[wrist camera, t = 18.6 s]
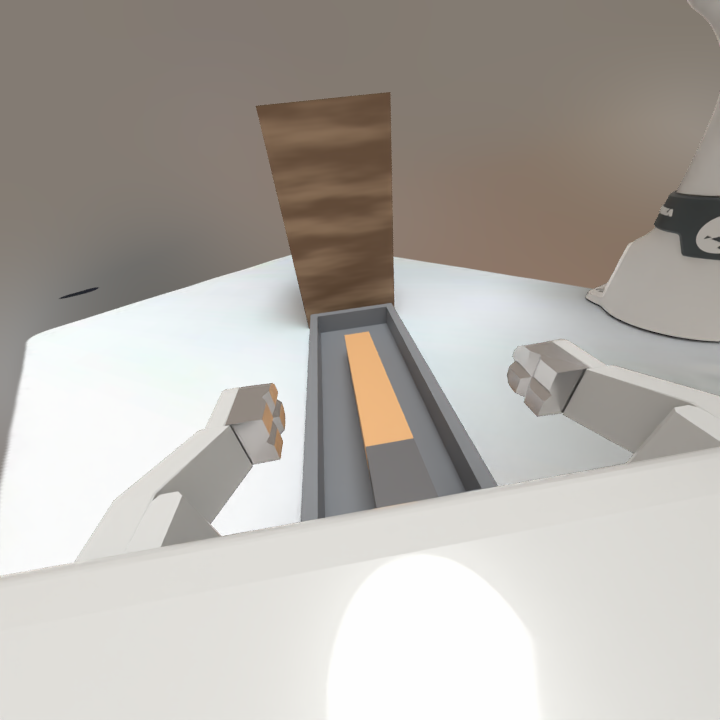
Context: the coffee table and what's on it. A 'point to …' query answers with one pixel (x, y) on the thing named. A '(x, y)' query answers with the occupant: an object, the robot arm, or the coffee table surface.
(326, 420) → the tray
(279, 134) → the stand
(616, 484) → the robot arm
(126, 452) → the coffee table surface
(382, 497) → the marker
